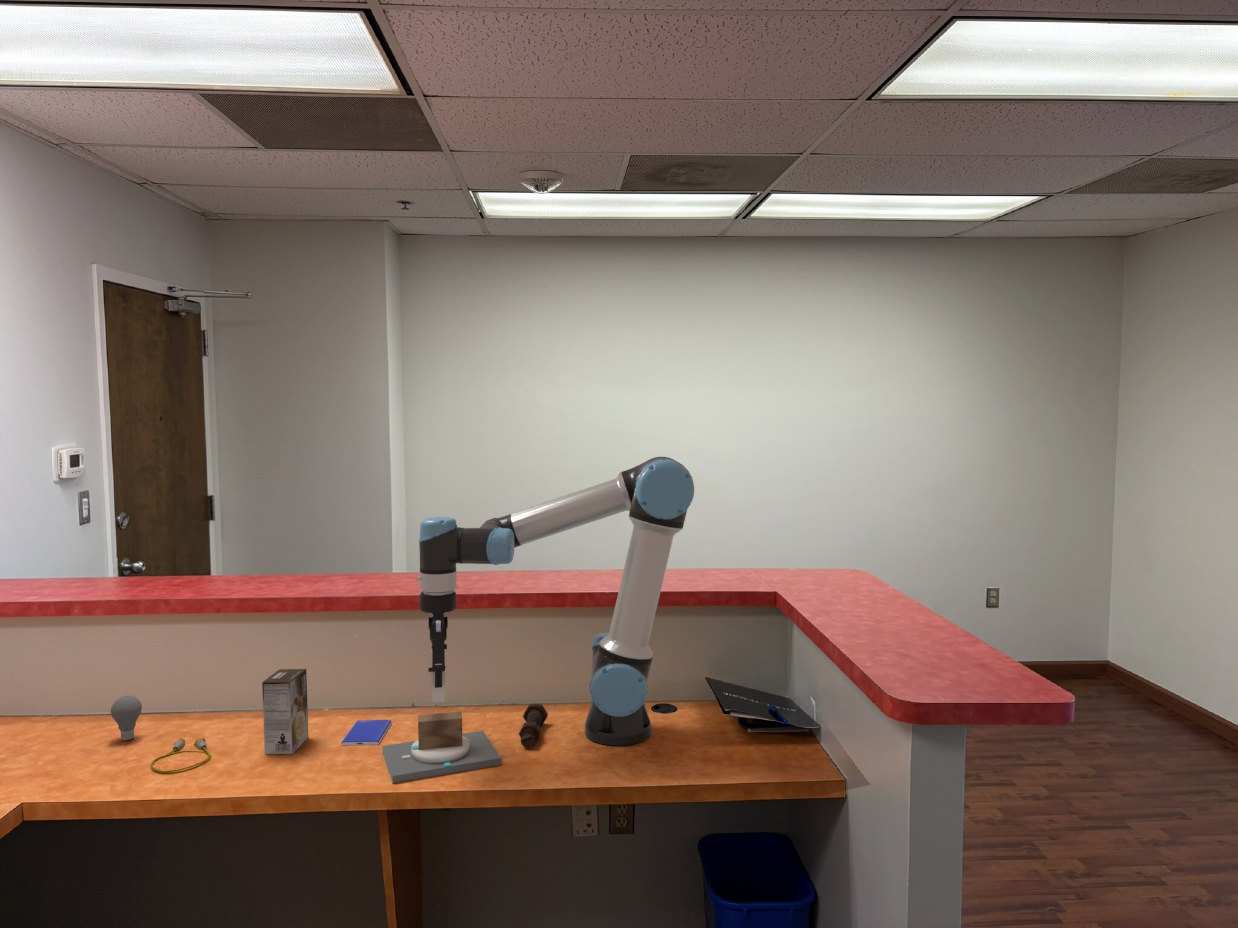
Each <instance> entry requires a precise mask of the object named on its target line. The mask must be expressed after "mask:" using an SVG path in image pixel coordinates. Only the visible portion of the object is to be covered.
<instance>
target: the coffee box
mask: <svg viewBox="0 0 1238 928" xmlns="http://www.w3.org/2000/svg"><path fill="white" fill-rule="evenodd" d="M307 679H308V678H307V668H287V669H286V668H285V669H283V668H282V669H278V670H277V671H275V672H274V673H272V674H271V675H270V676H269V677H267V678H266V679H265V680H263V681H262V682H261V683H262V685H261V687H262V711H263V712H262V713H263V714H262V715H263V716H262V717H263V738H264V739H263V741H264V755H293V754H294V753H296V751H297V750H298V749H299V748H300V747H301V746H302V745H303V744H304V743H305V741H307V740H308V739H309V716H308V715H309V710H308V708H309V707H308V685H307V684H308V683H307V682H308V681H307Z"/></svg>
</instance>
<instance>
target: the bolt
mask: <svg viewBox="0 0 1238 928" xmlns="http://www.w3.org/2000/svg"><path fill="white" fill-rule="evenodd" d="M548 715H549V714H548V712H547V710H546V708H545V707H544V705H543V704H541V703H530V704H528V705H527V707H526V709H525V711H524V713H523V715H522V718H523V720H524V721H525V722H524V723H523V724H522V726H521V728H520V731H519V733H518V735H519V738H520V744H521V745H522V746H523V747H524V748H531V747H533V746H534V745H535V744H536V743H537V742H538V740H539V738H540V736H541V735H542V729H541V728H540V727H542V726H543V725H544V723H545V722H546V720H547V719H548V717H549V716H548Z"/></svg>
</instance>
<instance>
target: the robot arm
mask: <svg viewBox="0 0 1238 928" xmlns="http://www.w3.org/2000/svg"><path fill="white" fill-rule="evenodd" d="M694 495H695V483H694V479H693V476H692V475H691V472H690V471H689V470H688V468H687V467H686V466H685V465H684V464H682V463H680V462H678V461H677V460H676V459H673V458H671V457H667V456H656V457H653V458H650V459H648V460H646V461H644V462H642V463H640V464H638V465H636V466H633V467H632V468H629V469H626V470H623V471H620V472H619V473H618V475H617V476H616V478H613V479H610V480H607V481H604V482H602V483H599V484H598V483H597V484H595V485H593V486H590V487H586V488H584V489H580V490H578V491H574V492H572V493H568V494H565V495H562V496H559V497H557V498H553V499H550V500H548V501H544V502H541V503H539V504H536V505H532V506H530V507H527V508H523V509H521V510H518V511H515V512H512V513H509V514H505V515H502V516H500V517H492V518H490V519H488V520H485V522H483V523H482V524H481V525H480V527H461V526H460V527H459V526H458V524H457V520H456V519H455V518H454V517H449V516H448V517H447V516H432V517H426V518H424V519H423V520H422V521H421V522H420V525H419V526H420V527H419V539H418V542H419V543H418V544H419V575H418V576H417V577H416V580H417V581H418V582H419V590H420V591H421V592H420V593H419V609H420V611H421V612H423V613H425V614H426V613H427V614H431V617H428V630H429V641H430V642H431V667H428V670H427V671H428V673H431V703H433V704H435V703H445V702H446V664H445V663H446V662H445V659H446V655H445V652H446V650H447V649H448V644H447V643H445V641H447V637H448V635H447V629H448V627H449V625H448V624H449V621H448V616H444V614H445V613H450V612H453V611H455V610H456V609H457V592H456V589H457V588H458V587H457V585H458V584H457V581H458V580H457V575H458V574H457V564H469V565H470V564H471V565H473V564H474V565H475V564H476V565H494V566H498V565H509V564H511V563H512V562H513V560H514V555H515V549H516V548H518V547H520V546H521V547H522V546H523V545H526V544H528V543H532V542H535V541H538V540H541V539H544V538H547V537H551V536H553V535H557V534H560V533H562V532H565V531H569V530H571V529H574V528H578V527H580V526H584V525H586V524H590V523H592V522H595V521H599V520H602V519H605V518H608V517H611V516H615V515H617V514H620V513H624V512H627V511H628V513H629V514H628V518H629V520H630V521H631V524H632V526H633V528H632V531H631V532H632V533H631V537H630V540H629V541H630V542H629V545H628V549H627V553H626V559H625V563H624V567H623V571H622V575H621V580H620V584H619V589H618V593H617V598H616V602H615V606H614V610H613V614H612V619H611V624H610V628H609V631H608V632H603V633H602V632H601V633H597V634H595V635H594V636H593V638H592V643H591V649H592V656H591V657H592V658H591V659H592V662H591V676H590V683H589V693H590V696H591V699H592V700H591V703H590V707H589V710H588V713H587V716H586V719H585V722H584V723H585V724H584V734H585V737H587V739H589V740H590V741H592V742H593V743H596V744H601V745H605V746H614V747H615V746H617V747H618V746H621V747H622V746H631V745H635V744H640V743H642V742H644V741H646V740H647V739H649V738H650V737H651V735H652V722H651V719H650V717H649V713H648V710H647V706H646V703H645V702H646V698H647V695H648V692H649V689H648V688H649V687H648V679H649V675H650V670H651V665H652V661H653V658H654V652H653V650H652V648H651V647H650V646H649V641H650V640H651V639H650V638H651V635H652V630H653V626H654V620H655V617H656V612H657V608H658V604H659V601H660V595H661V592H662V591H661V590H662V586H663V583H664V579H665V574H666V569H667V566H668V562H669V558H670V553H671V549H672V544H673V540H674V536H675V535H676V534H678V533H679V532H681V531H683V529H684V524H685V521H686V517H687V512H688V509H689V507H690V506H691V505H692V502H693V499H694Z"/></svg>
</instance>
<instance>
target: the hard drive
mask: <svg viewBox="0 0 1238 928" xmlns="http://www.w3.org/2000/svg"><path fill="white" fill-rule="evenodd" d="M391 725H392V719H361V720H360V719H359V720H356V722H355V723H354V724H353V725H352V726H351V729H349V731H348V733H347V734H346V735H345V736H344V738H343V739H342V740H341V742H340V746H341V745H348V746H379V745H380V743H381V742H380V741H382V740H383V738H384V737H385V735H386V734H387V732H388V730H389V729H388V728H390V727H391ZM386 731H387V732H386ZM383 736H384V737H383ZM378 744H379V745H378Z"/></svg>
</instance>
